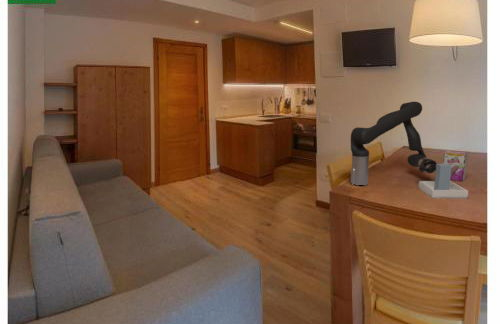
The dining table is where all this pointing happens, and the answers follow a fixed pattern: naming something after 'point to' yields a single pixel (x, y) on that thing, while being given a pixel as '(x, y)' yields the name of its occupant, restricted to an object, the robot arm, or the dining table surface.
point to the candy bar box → (456, 164)
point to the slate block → (442, 177)
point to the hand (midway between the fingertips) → (439, 171)
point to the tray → (452, 193)
